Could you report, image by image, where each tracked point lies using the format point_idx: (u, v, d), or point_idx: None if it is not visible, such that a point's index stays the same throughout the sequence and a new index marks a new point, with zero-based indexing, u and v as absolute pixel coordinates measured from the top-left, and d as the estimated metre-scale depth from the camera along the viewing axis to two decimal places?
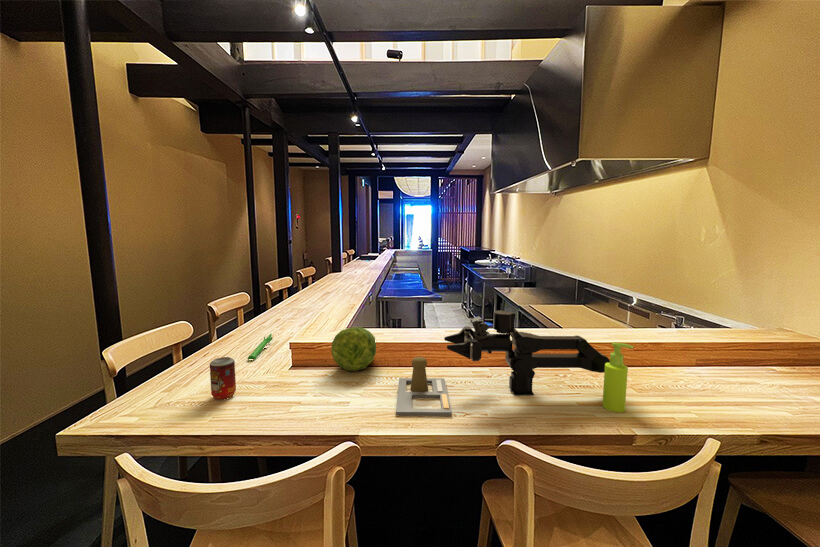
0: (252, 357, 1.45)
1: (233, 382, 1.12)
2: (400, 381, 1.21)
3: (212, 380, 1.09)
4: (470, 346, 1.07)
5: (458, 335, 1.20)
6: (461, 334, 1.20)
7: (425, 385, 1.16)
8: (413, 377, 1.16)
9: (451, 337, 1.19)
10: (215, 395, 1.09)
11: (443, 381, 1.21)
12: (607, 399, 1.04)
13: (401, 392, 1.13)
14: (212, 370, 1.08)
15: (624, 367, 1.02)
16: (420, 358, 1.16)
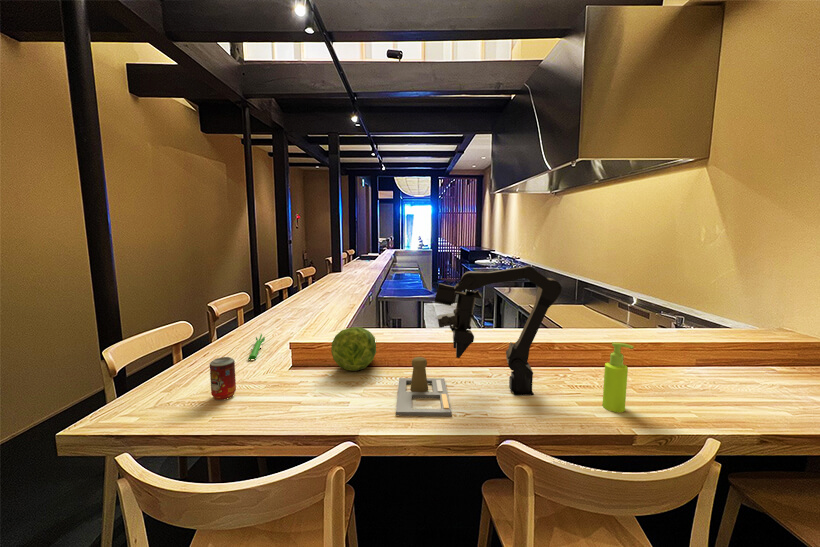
0: (253, 357, 1.45)
1: (233, 382, 1.12)
2: (400, 381, 1.21)
3: (212, 380, 1.09)
4: (458, 340, 1.10)
5: None
6: (454, 331, 1.23)
7: (425, 385, 1.16)
8: (413, 377, 1.16)
9: (455, 341, 1.23)
10: (215, 395, 1.09)
11: (443, 381, 1.21)
12: (607, 399, 1.04)
13: (401, 392, 1.13)
14: (212, 370, 1.08)
15: (624, 367, 1.02)
16: (420, 358, 1.16)
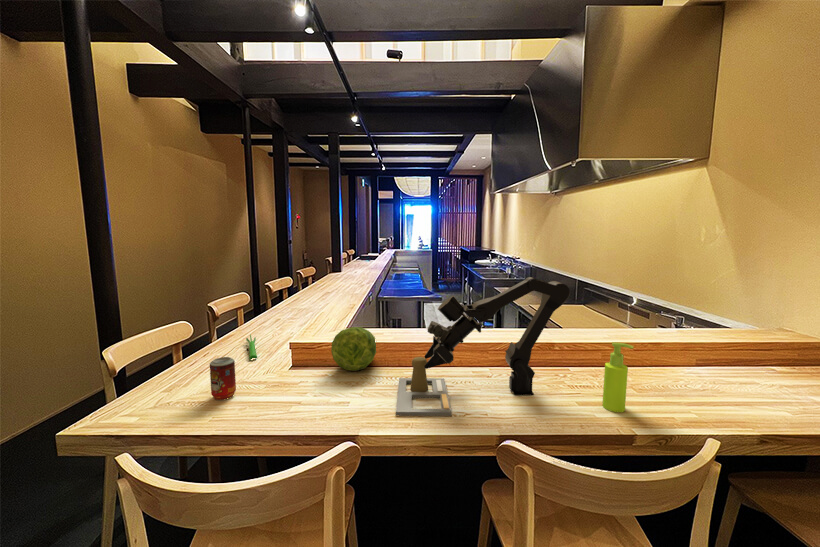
0: (254, 356, 1.45)
1: (233, 382, 1.12)
2: (400, 381, 1.21)
3: (212, 380, 1.09)
4: (438, 354, 1.08)
5: (433, 346, 1.21)
6: (434, 343, 1.21)
7: (425, 385, 1.16)
8: (413, 377, 1.16)
9: (429, 352, 1.21)
10: (215, 395, 1.09)
11: (443, 381, 1.21)
12: (607, 399, 1.04)
13: (401, 392, 1.13)
14: (212, 370, 1.08)
15: (624, 367, 1.02)
16: (420, 358, 1.16)
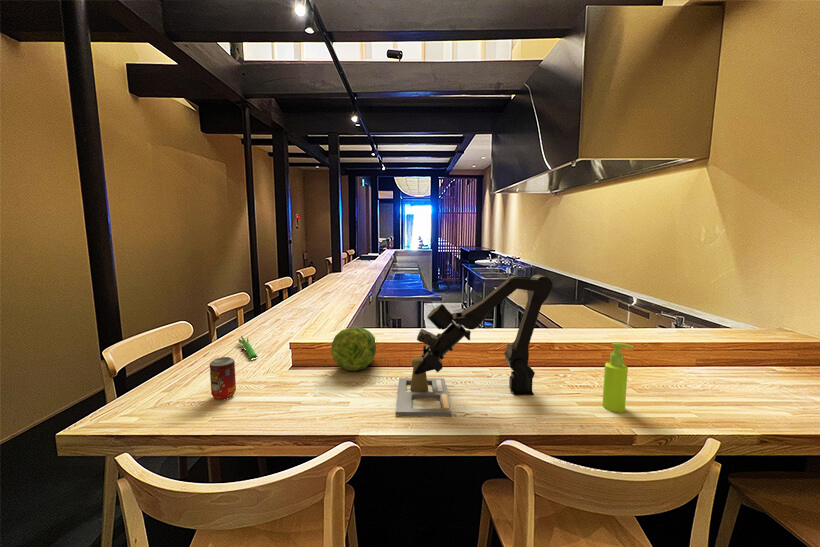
0: (255, 356, 1.46)
1: (233, 382, 1.12)
2: (400, 381, 1.21)
3: (212, 380, 1.09)
4: None
5: (423, 355, 1.20)
6: (424, 352, 1.20)
7: (425, 385, 1.16)
8: (413, 377, 1.16)
9: None
10: (215, 395, 1.09)
11: (443, 381, 1.21)
12: (607, 399, 1.04)
13: (401, 392, 1.13)
14: (212, 370, 1.08)
15: (624, 367, 1.02)
16: (420, 358, 1.16)
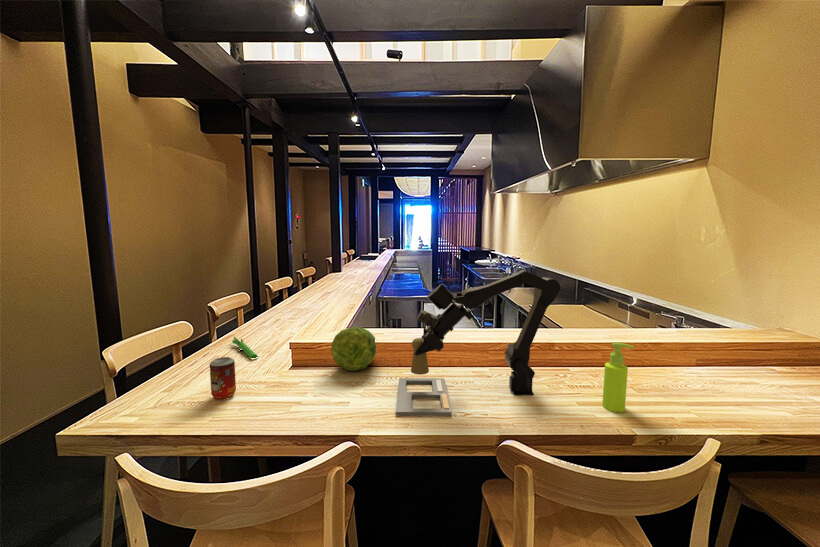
0: (255, 356, 1.46)
1: (233, 382, 1.12)
2: (400, 381, 1.21)
3: (212, 380, 1.09)
4: None
5: (423, 337, 1.18)
6: (425, 334, 1.18)
7: (426, 366, 1.15)
8: (413, 358, 1.15)
9: None
10: (215, 395, 1.09)
11: (443, 381, 1.21)
12: (607, 399, 1.04)
13: (401, 392, 1.13)
14: (212, 370, 1.08)
15: (624, 367, 1.02)
16: (420, 339, 1.15)
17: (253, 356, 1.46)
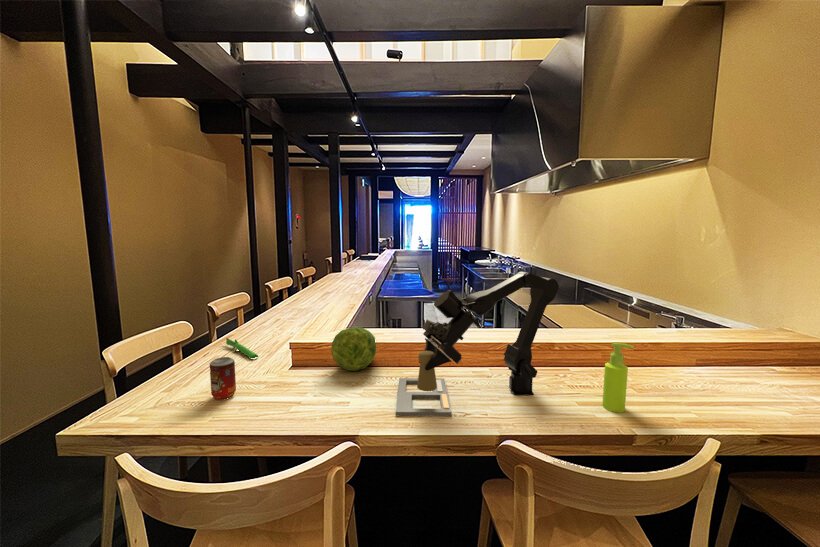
0: (255, 355, 1.46)
1: (233, 382, 1.12)
2: (400, 381, 1.21)
3: (212, 380, 1.09)
4: (442, 352, 1.00)
5: (427, 349, 1.08)
6: (429, 346, 1.09)
7: (435, 381, 1.05)
8: (422, 374, 1.04)
9: None
10: (215, 395, 1.09)
11: (443, 381, 1.21)
12: (607, 399, 1.04)
13: (401, 392, 1.13)
14: (212, 370, 1.08)
15: (624, 367, 1.02)
16: (428, 352, 1.05)
17: (253, 356, 1.46)
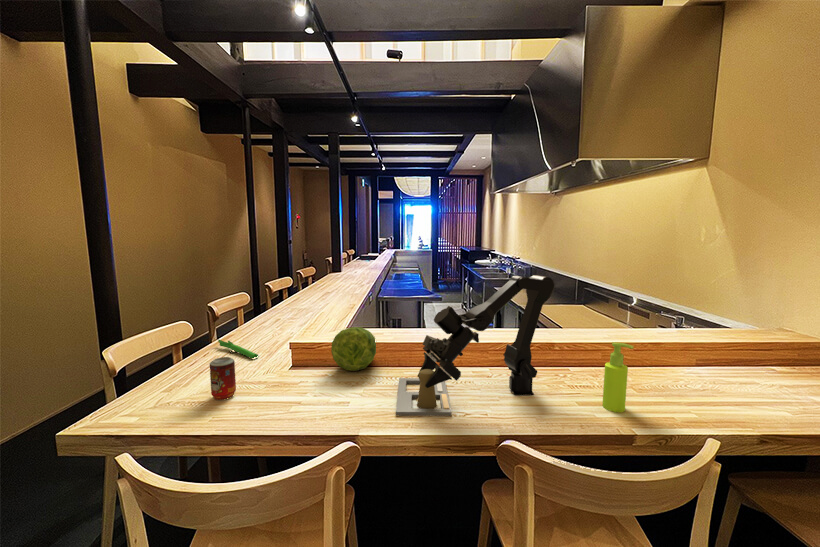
0: (256, 355, 1.47)
1: (233, 382, 1.12)
2: (400, 381, 1.21)
3: (212, 380, 1.09)
4: (443, 370, 1.00)
5: (426, 363, 1.10)
6: (427, 360, 1.10)
7: (435, 399, 1.06)
8: (422, 392, 1.05)
9: None
10: (215, 395, 1.09)
11: None
12: (607, 399, 1.04)
13: (401, 392, 1.13)
14: (212, 370, 1.08)
15: (624, 367, 1.02)
16: (428, 370, 1.06)
17: (254, 356, 1.46)
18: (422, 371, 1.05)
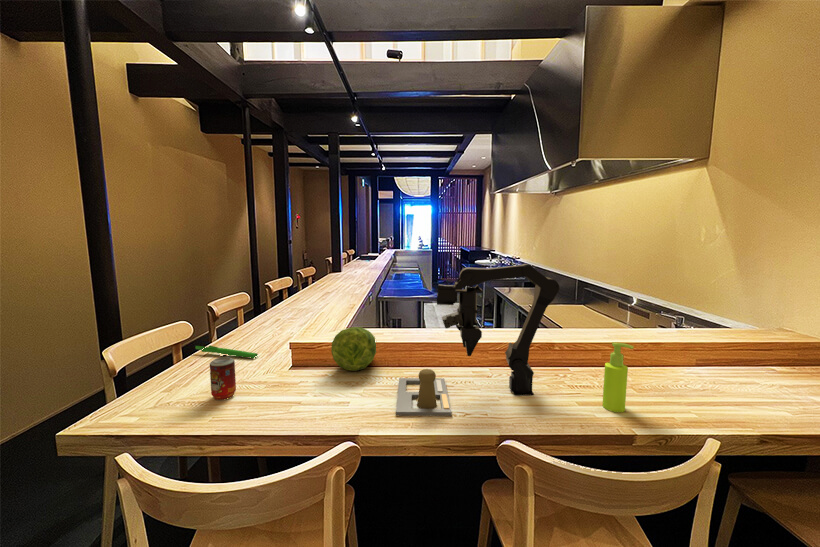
0: (256, 354, 1.48)
1: (233, 382, 1.12)
2: (400, 381, 1.21)
3: (212, 380, 1.09)
4: (467, 338, 1.09)
5: None
6: None
7: (435, 399, 1.06)
8: (422, 392, 1.05)
9: (463, 340, 1.22)
10: (215, 395, 1.09)
11: (443, 381, 1.21)
12: (607, 399, 1.04)
13: (401, 392, 1.13)
14: (212, 370, 1.08)
15: (624, 367, 1.02)
16: (428, 370, 1.06)
17: (255, 355, 1.47)
18: (422, 371, 1.05)
